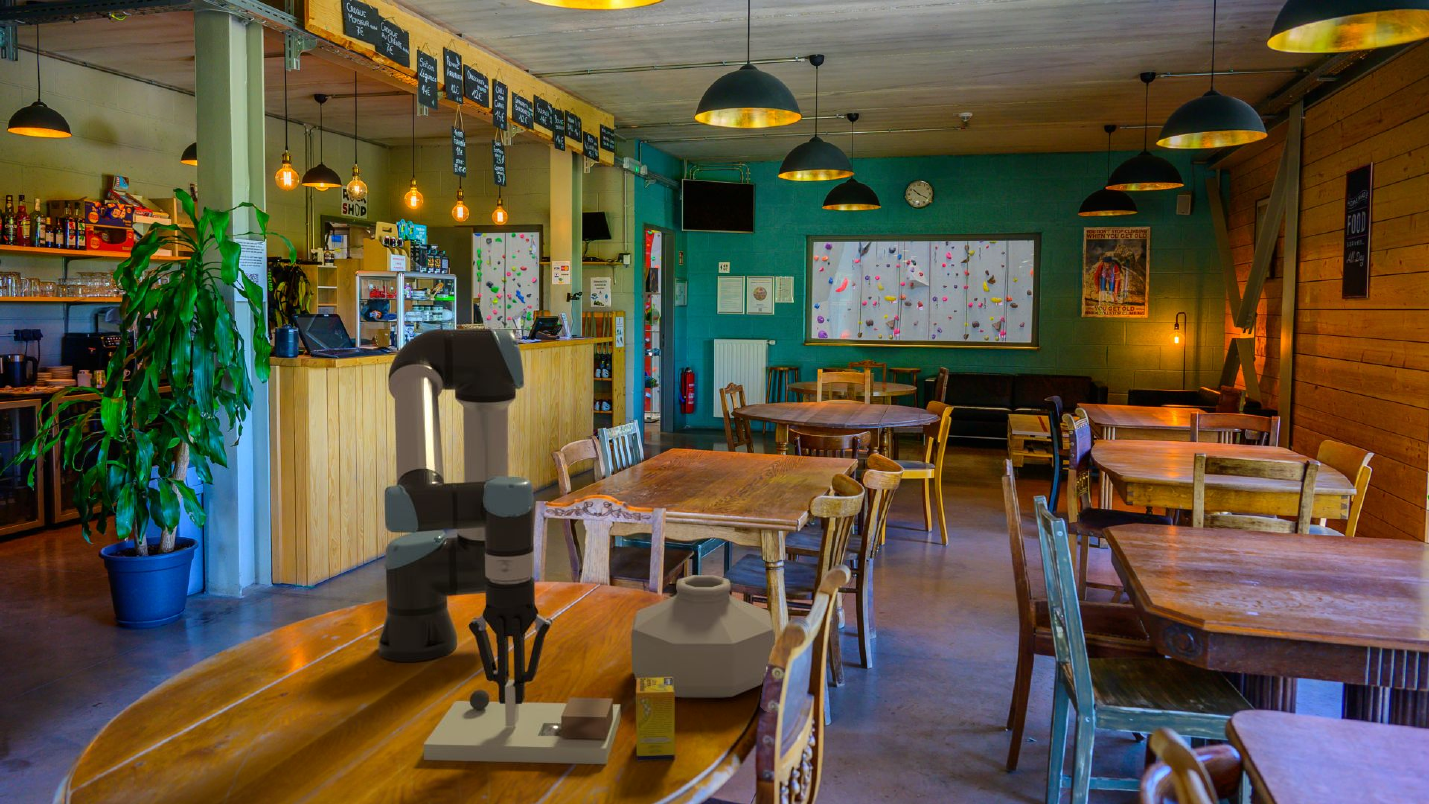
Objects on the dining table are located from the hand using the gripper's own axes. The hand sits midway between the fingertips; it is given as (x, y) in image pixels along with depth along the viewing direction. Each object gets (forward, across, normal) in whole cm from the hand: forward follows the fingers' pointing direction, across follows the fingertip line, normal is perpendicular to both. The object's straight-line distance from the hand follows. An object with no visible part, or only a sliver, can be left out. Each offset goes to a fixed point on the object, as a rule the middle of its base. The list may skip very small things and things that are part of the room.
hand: (512, 722), depth 153 cm
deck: (+3, +2, +2) cm, 4 cm away
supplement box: (+4, +23, -2) cm, 23 cm away
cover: (+1, +12, -1) cm, 12 cm away
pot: (+4, +29, +28) cm, 41 cm away
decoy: (-1, -7, +7) cm, 10 cm away
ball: (+2, +7, -1) cm, 7 cm away
